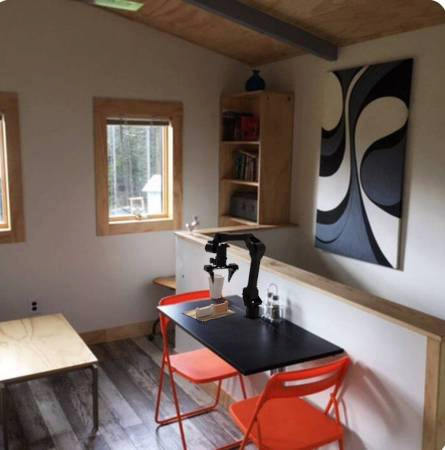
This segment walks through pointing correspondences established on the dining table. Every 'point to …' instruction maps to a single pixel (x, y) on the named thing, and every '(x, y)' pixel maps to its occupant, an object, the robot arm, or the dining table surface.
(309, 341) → the dining table surface
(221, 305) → the gate panel
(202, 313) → the fence fixed
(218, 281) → the foam cup
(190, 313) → the card
